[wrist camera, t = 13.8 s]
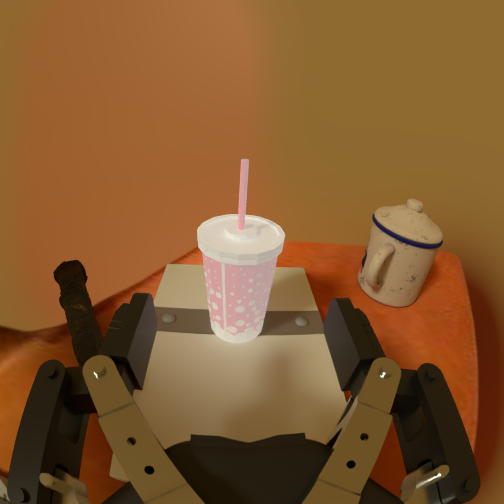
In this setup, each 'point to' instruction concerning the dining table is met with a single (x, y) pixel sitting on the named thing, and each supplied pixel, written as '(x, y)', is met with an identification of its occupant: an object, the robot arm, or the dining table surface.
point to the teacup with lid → (399, 254)
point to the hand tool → (78, 310)
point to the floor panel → (237, 367)
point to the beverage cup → (239, 268)
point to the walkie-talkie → (3, 491)
